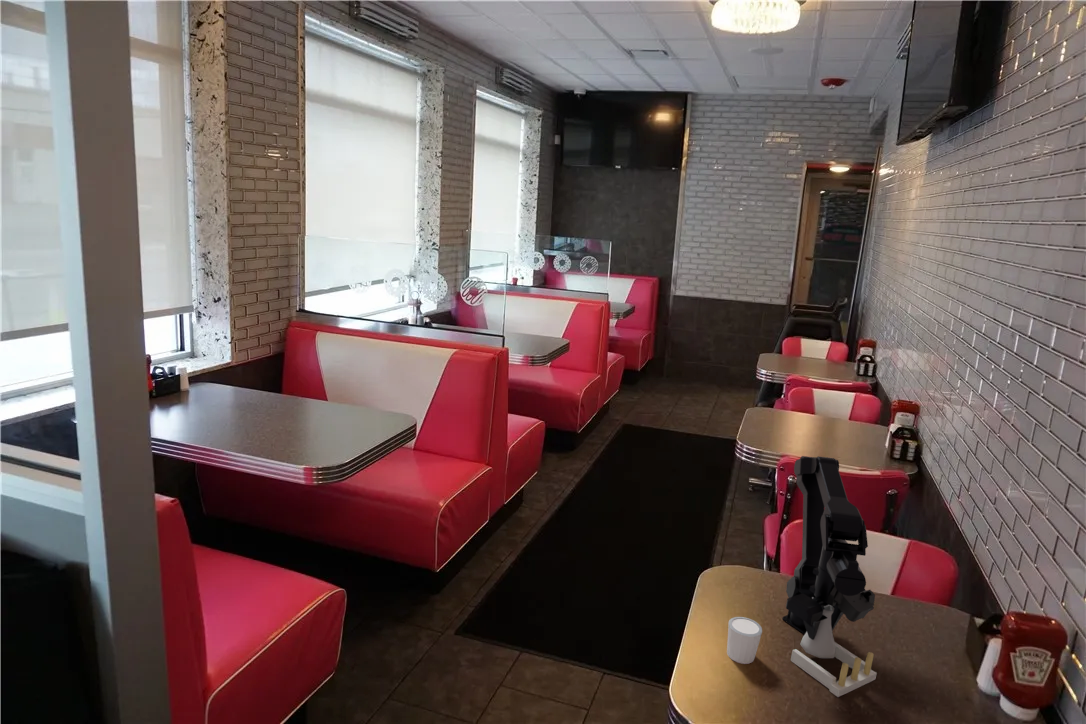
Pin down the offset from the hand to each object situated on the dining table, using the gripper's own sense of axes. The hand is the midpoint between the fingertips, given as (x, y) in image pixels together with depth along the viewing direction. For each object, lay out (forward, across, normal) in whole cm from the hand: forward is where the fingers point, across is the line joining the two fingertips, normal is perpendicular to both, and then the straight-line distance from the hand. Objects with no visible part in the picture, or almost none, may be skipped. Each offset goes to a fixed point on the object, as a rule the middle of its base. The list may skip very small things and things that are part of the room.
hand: (820, 635), depth 152 cm
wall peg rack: (+6, 0, -4) cm, 7 cm away
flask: (+3, 0, 0) cm, 3 cm away
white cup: (+6, -14, +8) cm, 17 cm away
